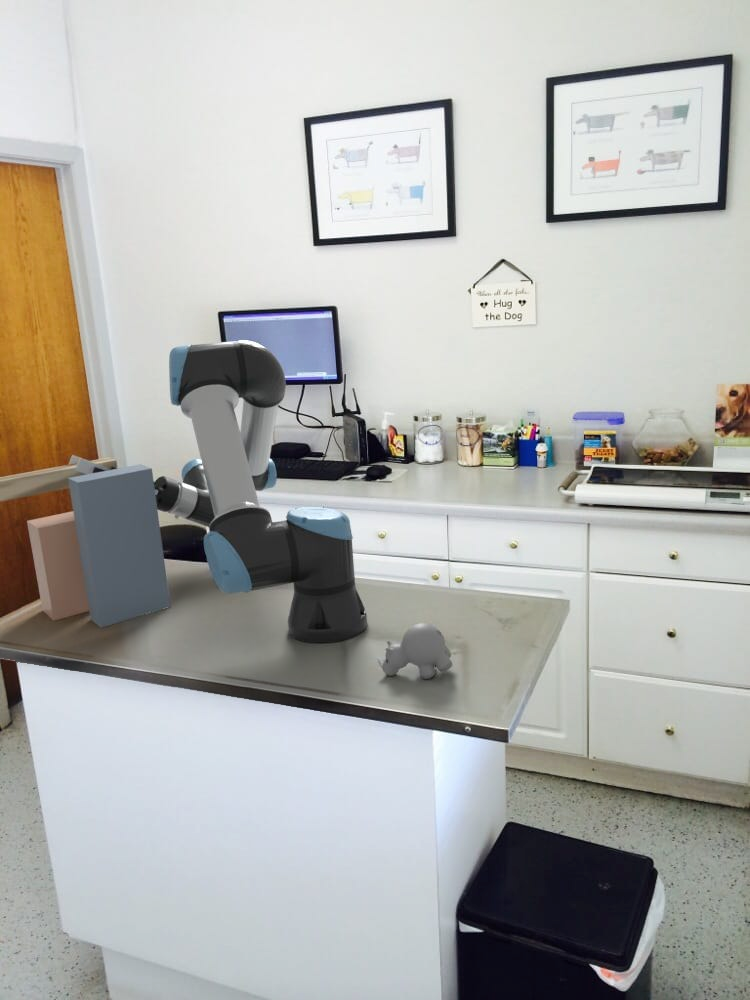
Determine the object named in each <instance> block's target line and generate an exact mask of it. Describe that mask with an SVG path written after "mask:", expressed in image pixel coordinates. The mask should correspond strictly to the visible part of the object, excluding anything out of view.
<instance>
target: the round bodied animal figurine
mask: <svg viewBox="0 0 750 1000" xmlns="http://www.w3.org/2000/svg"><path fill="white" fill-rule="evenodd" d="M386 643H387V646H388V647H387V648H385V659H382V661H381V660H380V659H379V658H377V664H378V666H379V667H380V668H381V669H382V672H384V674H385V675H387V676H391V677H392V676H396V675H397V674H398V672H399V670H400V669H403V668H406V667H407V666H408V664H412V665H414V666H416V667H417V668H418V673H419V674H420V677H421V679H423V680H428V679H431V678H432V677H434V676H435V675H436V672H437V670H438V671H439V672H440V673H445V672H447V671H448V670H450V669H451V668H452V667H453V661H452V660H451V657H452V653H451V651H450V649H449V647H448V646H447V645H446V641H445V637H444V635H443V633H442V631H441V630H440V629H439V628H438V627H437V626H435V625H433V624H431V623H427V622H421V623H416V624H415V623H414V624H413V625H412V626H410V627H409V628H408V629H407V630H406V631H405V632H404V634H403V636H402V640H401V643H394V644H393V643H392V642H391V641H389V640H387V642H386ZM435 668H436V669H437V670H436V669H435Z"/></svg>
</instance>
